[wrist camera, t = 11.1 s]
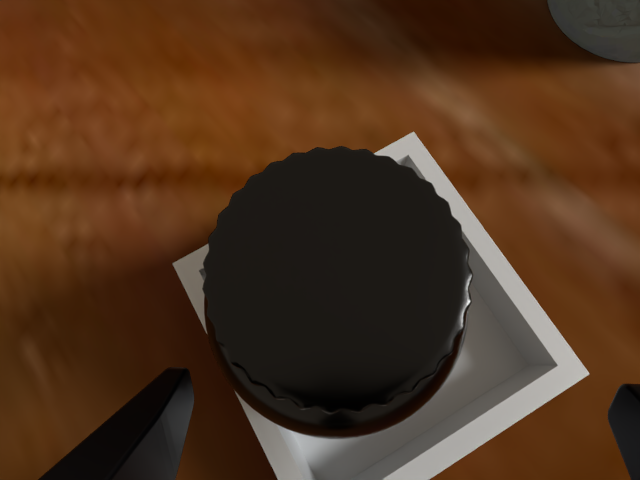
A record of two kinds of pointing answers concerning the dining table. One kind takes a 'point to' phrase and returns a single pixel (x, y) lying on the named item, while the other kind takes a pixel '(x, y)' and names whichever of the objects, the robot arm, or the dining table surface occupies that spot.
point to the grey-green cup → (601, 26)
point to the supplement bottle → (337, 292)
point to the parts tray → (464, 381)
